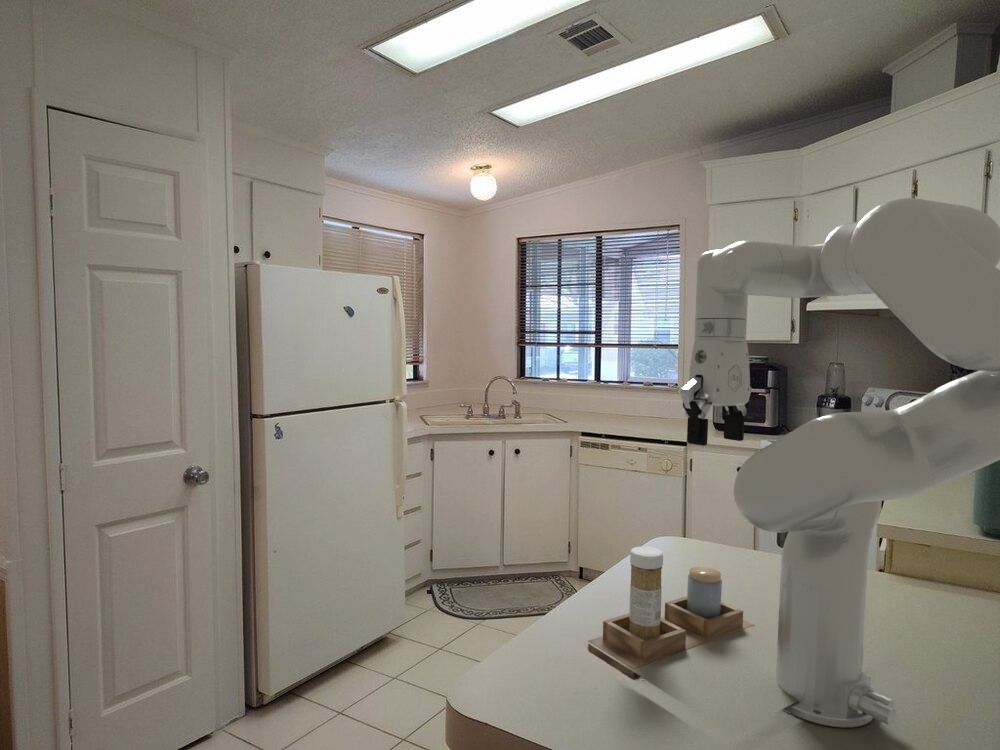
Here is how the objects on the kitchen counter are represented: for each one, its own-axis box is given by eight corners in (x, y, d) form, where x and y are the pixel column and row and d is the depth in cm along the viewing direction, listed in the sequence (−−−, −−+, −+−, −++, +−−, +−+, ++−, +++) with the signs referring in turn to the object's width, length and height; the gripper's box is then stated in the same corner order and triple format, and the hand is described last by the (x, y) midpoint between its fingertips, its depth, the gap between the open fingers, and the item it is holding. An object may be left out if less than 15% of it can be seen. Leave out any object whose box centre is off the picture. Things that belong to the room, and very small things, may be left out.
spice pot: (727, 625, 94) (729, 574, 94) (705, 632, 91) (707, 580, 91) (700, 613, 98) (702, 564, 98) (679, 620, 95) (681, 569, 95)
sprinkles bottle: (641, 632, 91) (643, 543, 90) (667, 644, 87) (669, 551, 87) (621, 641, 88) (623, 549, 87) (647, 653, 84) (650, 558, 84)
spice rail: (754, 634, 95) (755, 608, 94) (633, 679, 80) (634, 650, 80) (706, 612, 102) (707, 588, 102) (588, 650, 88) (588, 623, 88)
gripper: (708, 329, 86) (703, 450, 87) (772, 333, 96) (768, 441, 97) (664, 329, 92) (660, 442, 93) (729, 334, 102) (725, 435, 103)
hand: (715, 441), depth 95 cm, fingers open, 9 cm apart
